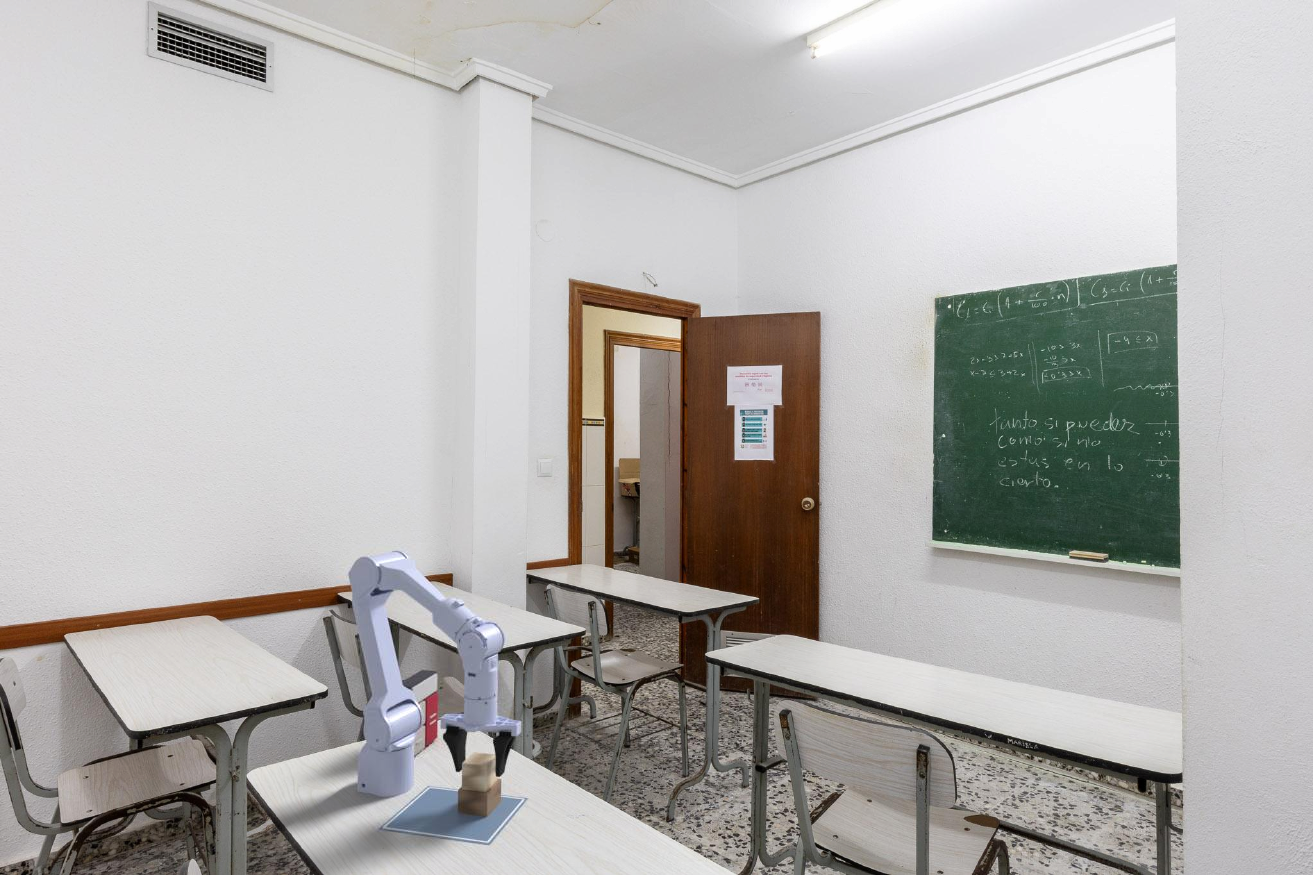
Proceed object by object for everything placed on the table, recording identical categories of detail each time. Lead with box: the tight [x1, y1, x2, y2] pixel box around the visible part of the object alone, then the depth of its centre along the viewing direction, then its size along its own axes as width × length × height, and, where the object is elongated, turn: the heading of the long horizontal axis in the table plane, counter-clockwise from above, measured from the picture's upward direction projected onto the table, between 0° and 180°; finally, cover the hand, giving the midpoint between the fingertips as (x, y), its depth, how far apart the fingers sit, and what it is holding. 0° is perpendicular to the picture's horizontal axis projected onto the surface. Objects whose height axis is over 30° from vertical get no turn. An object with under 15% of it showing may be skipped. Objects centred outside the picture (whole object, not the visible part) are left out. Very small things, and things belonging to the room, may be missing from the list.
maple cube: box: [461, 751, 498, 792], centre depth 125 cm, size 4×4×4 cm
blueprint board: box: [377, 785, 529, 846], centre depth 123 cm, size 20×16×1 cm
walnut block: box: [457, 778, 502, 817], centre depth 125 cm, size 6×6×4 cm
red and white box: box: [402, 669, 439, 757], centre depth 151 cm, size 11×4×15 cm, turn 168°
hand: (480, 771), depth 125 cm, fingers open, 7 cm apart
